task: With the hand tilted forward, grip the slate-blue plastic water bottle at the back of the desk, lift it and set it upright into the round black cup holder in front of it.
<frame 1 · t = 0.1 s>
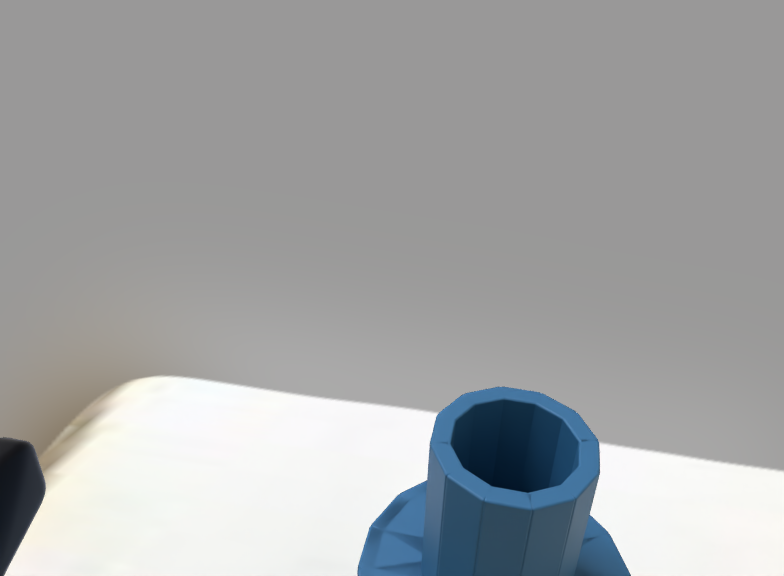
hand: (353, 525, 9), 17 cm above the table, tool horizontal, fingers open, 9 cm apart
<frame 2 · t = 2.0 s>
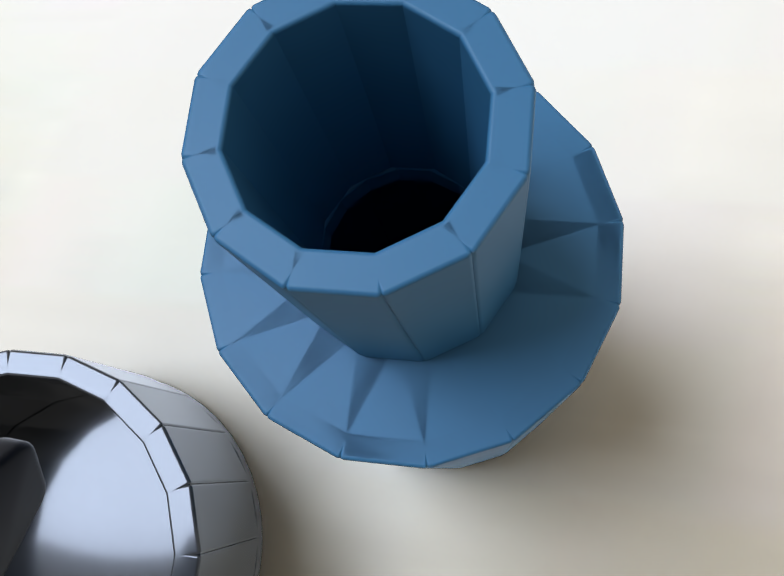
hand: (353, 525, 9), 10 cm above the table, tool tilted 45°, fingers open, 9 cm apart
bottle: (447, 353, 20), on the table
cup holder: (100, 543, 20), on the table
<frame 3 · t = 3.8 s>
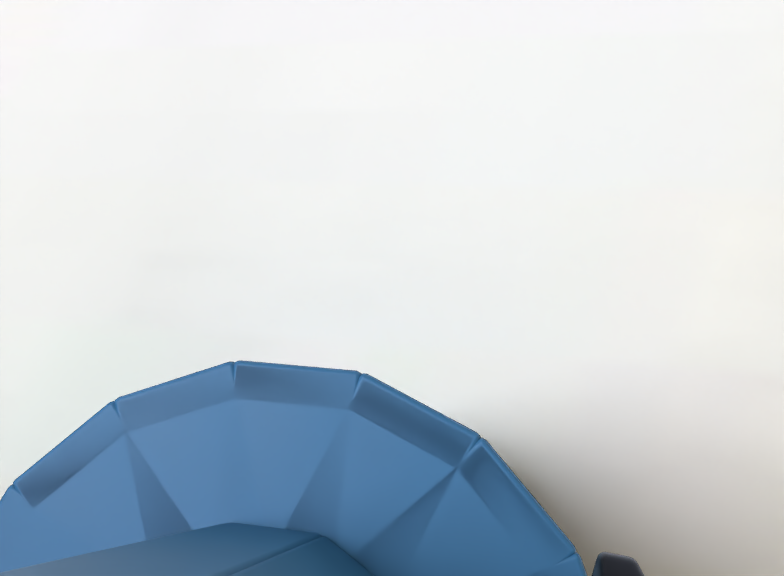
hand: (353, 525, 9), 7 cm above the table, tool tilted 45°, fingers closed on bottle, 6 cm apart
bottle: (400, 566, 16), on the table, touching gripper
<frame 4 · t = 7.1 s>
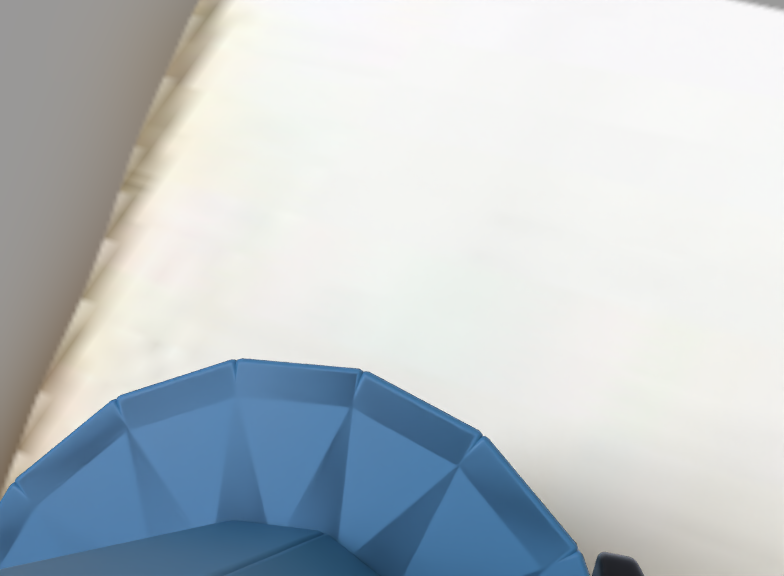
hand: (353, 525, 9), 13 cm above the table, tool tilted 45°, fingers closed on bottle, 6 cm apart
bottle: (400, 565, 16), point 7 cm above the table, touching gripper
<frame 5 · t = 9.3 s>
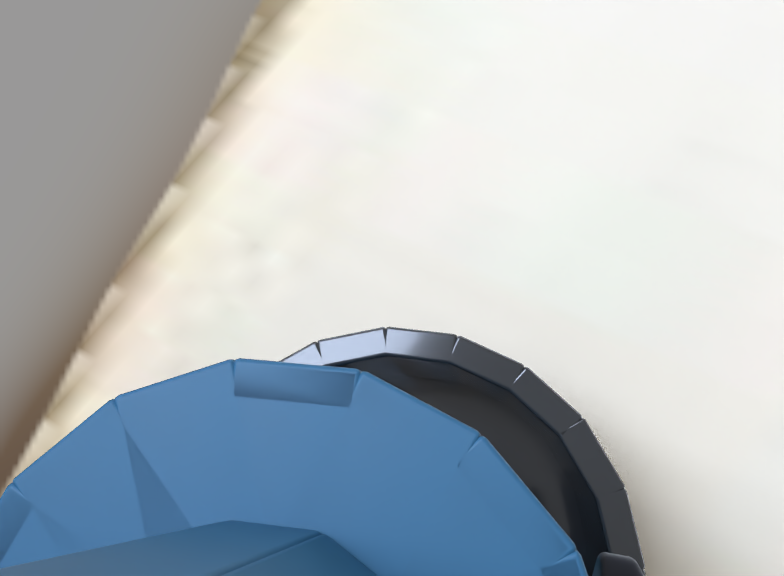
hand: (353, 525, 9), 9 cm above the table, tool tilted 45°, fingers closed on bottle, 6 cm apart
bottle: (400, 565, 16), point 3 cm above the table, touching gripper
cup holder: (415, 543, 18), on the table
when the fingers open (7 cm above the table, at t = 10.6 s): bottle stays where it is, resting on cup holder.
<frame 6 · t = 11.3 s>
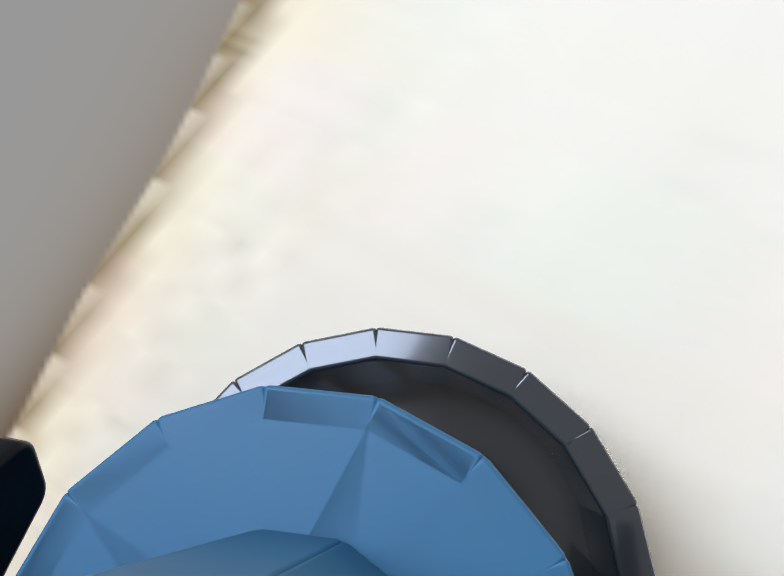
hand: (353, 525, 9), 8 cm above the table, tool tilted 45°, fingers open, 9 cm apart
bottle: (404, 567, 16), resting on cup holder
cup holder: (408, 561, 17), on the table
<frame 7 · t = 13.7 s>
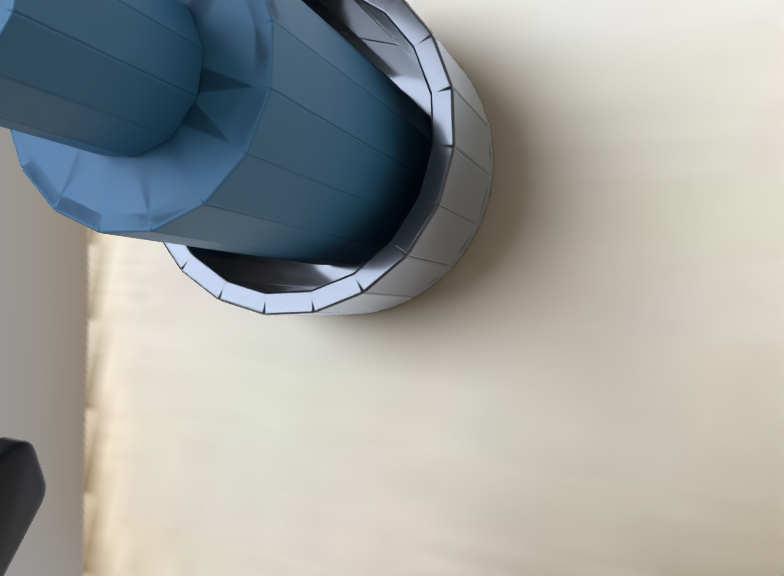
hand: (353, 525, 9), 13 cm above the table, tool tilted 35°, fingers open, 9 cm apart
bottle: (345, 170, 23), resting on cup holder
cup holder: (351, 170, 24), on the table
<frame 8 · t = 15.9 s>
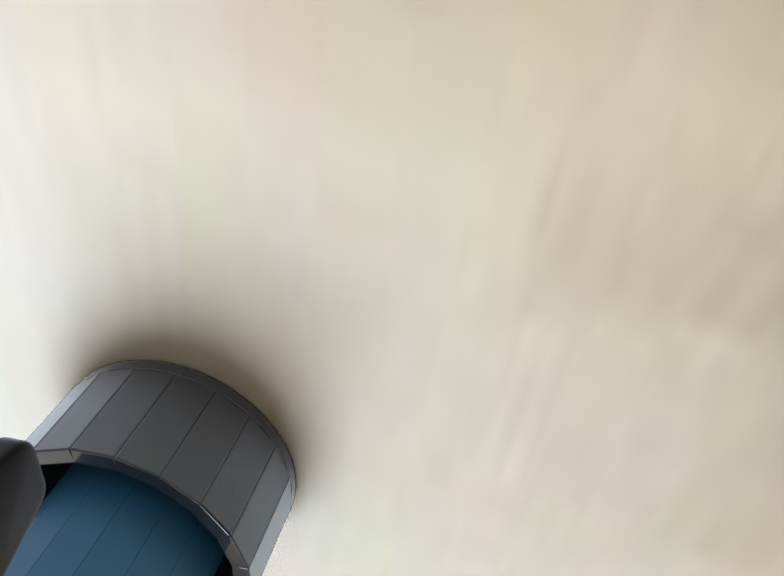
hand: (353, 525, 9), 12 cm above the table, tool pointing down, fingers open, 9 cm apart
bottle: (176, 467, 28), resting on cup holder
cup holder: (180, 457, 28), on the table
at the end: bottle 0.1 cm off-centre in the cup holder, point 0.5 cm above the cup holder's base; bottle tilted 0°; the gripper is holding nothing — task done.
